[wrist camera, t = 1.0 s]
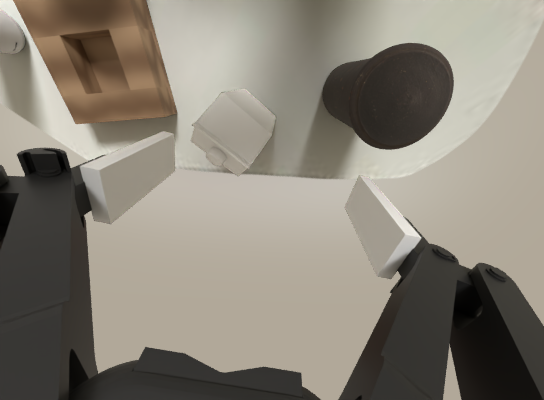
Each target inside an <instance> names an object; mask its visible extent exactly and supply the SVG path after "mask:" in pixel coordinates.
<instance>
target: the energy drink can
mask: <svg viewBox="0 0 544 400" xmlns="http://www.w3.org/2000/svg"><path fill="white" fill-rule="evenodd" d="M24 46H25V37H24V34H23V31H22V29H21V28H20V26H19V25H18V23H17V22H16V21H15V20H14V19H13V18H12V17H11V16H9V15H8V14H7V13H5V12H4V11H3V10H1V9H0V53H9V54H15V53H18V52H19V51H20V50H21V49H23V48H24Z"/></svg>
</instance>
